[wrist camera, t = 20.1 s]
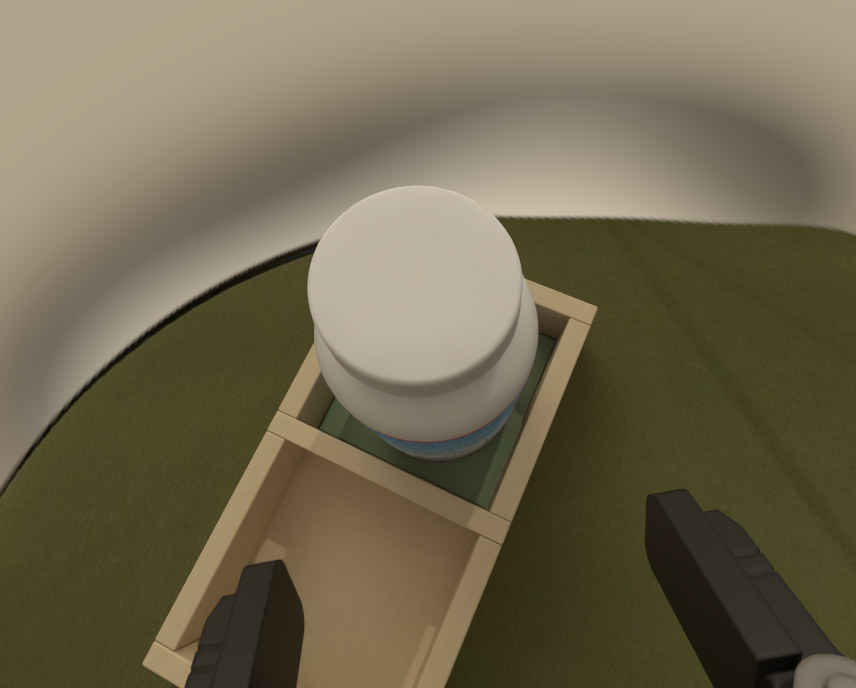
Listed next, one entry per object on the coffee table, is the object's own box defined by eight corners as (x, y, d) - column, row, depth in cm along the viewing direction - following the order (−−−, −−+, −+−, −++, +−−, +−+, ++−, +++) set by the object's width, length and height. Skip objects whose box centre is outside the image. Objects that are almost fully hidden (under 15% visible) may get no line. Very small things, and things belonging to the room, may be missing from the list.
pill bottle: (539, 427, 21) (615, 352, 10) (397, 487, 21) (325, 473, 10) (478, 297, 23) (489, 117, 12) (346, 350, 23) (238, 215, 12)
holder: (390, 259, 24) (378, 220, 21) (579, 335, 23) (598, 306, 20) (193, 638, 21) (140, 665, 17) (404, 762, 19) (391, 819, 16)
